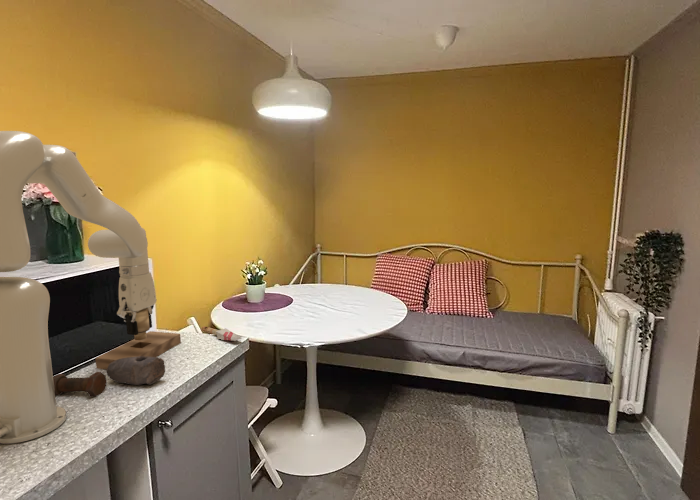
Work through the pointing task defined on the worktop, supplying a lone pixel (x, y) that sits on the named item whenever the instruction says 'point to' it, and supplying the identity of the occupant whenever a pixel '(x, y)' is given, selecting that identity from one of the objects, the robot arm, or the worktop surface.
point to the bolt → (80, 384)
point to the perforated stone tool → (136, 370)
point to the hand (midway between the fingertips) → (139, 330)
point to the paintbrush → (222, 333)
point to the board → (140, 348)
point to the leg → (142, 324)
